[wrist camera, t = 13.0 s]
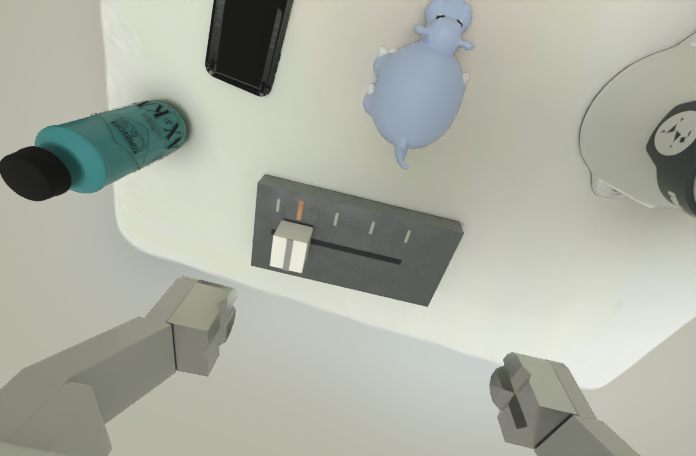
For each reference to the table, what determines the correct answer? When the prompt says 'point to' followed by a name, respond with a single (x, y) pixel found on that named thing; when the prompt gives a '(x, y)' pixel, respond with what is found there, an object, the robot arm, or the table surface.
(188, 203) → the table surface
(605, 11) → the table surface
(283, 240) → the fader knob
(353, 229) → the fader panel
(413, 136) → the hippopotamus toy
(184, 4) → the table surface
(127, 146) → the beverage bottle
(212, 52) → the phone
